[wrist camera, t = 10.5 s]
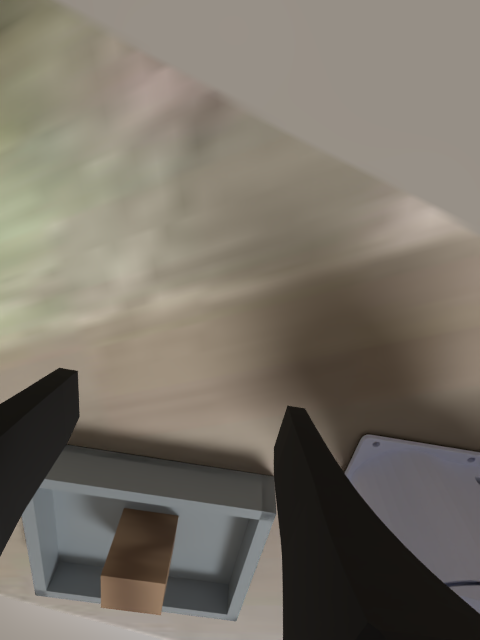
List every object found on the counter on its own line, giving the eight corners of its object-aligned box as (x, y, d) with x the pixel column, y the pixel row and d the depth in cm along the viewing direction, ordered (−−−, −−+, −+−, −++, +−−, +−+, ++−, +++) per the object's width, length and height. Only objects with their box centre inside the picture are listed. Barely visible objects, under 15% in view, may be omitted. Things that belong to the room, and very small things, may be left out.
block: (178, 515, 29) (165, 584, 25) (173, 546, 31) (160, 615, 27) (124, 507, 29) (100, 575, 24) (122, 539, 31) (101, 607, 26)
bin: (274, 476, 27) (276, 513, 25) (237, 584, 35) (236, 621, 32) (38, 440, 26) (14, 474, 24) (52, 559, 34) (35, 595, 31)
